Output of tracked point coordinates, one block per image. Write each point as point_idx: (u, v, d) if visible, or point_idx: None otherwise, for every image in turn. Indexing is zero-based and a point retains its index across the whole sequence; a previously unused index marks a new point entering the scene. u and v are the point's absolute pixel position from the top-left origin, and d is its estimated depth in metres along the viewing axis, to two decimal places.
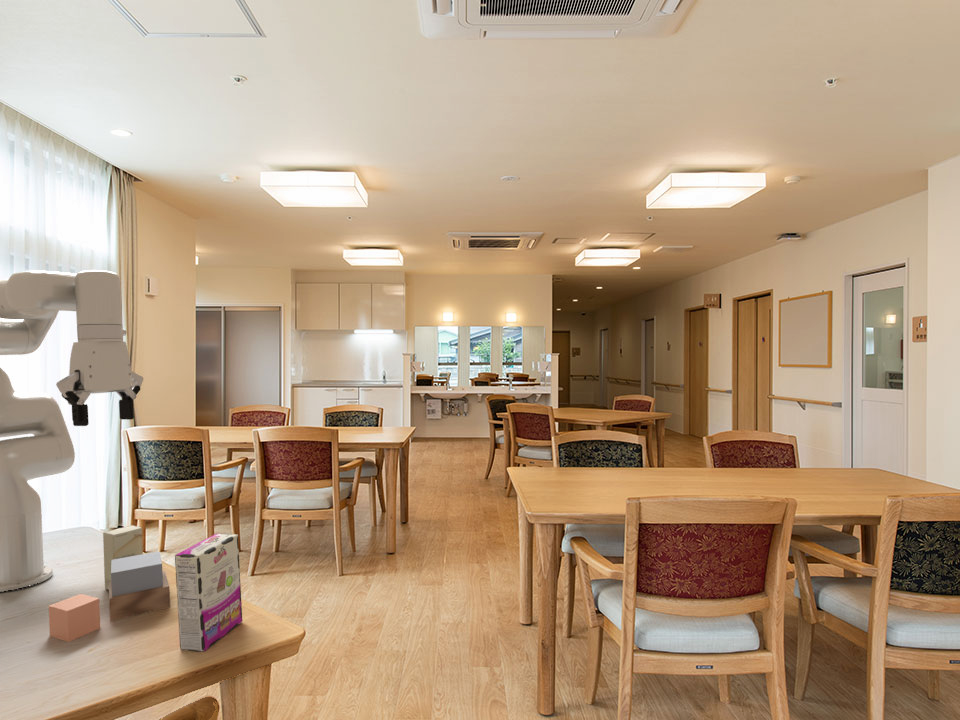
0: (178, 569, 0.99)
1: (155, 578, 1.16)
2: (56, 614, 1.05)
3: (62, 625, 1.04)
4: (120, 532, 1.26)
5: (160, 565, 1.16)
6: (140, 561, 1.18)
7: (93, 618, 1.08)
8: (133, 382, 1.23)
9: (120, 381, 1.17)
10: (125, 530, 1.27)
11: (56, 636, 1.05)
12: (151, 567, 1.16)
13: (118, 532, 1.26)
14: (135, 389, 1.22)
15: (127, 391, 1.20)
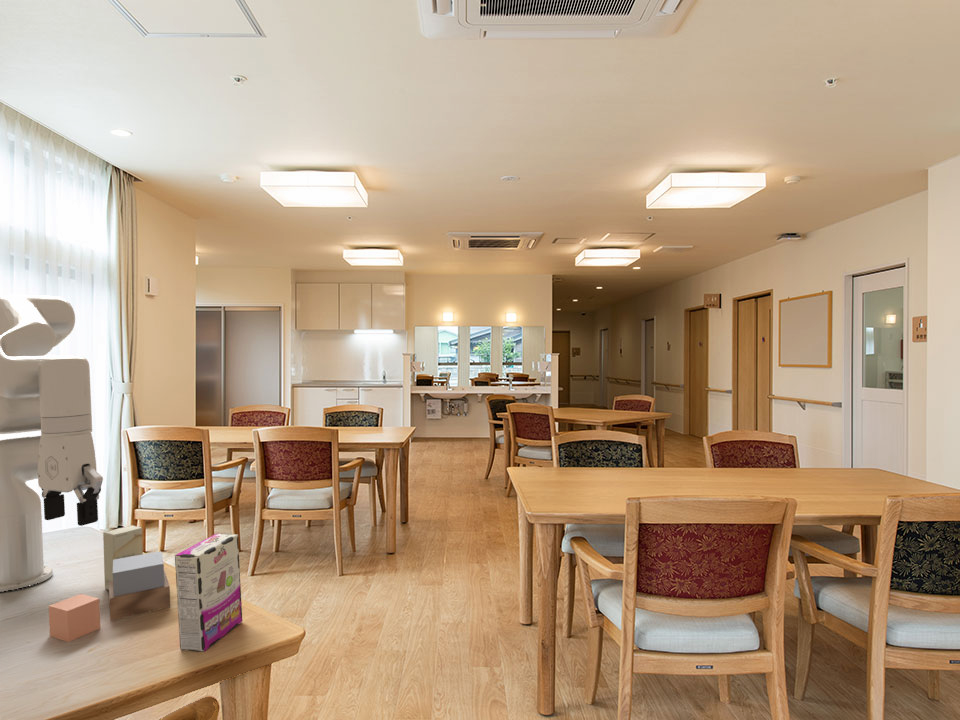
0: (178, 569, 0.99)
1: (156, 578, 1.16)
2: (56, 614, 1.05)
3: (62, 625, 1.04)
4: (120, 532, 1.26)
5: (162, 565, 1.16)
6: (142, 561, 1.18)
7: (93, 618, 1.08)
8: None
9: None
10: (125, 530, 1.27)
11: (56, 636, 1.05)
12: (152, 567, 1.16)
13: (118, 532, 1.26)
14: None
15: None
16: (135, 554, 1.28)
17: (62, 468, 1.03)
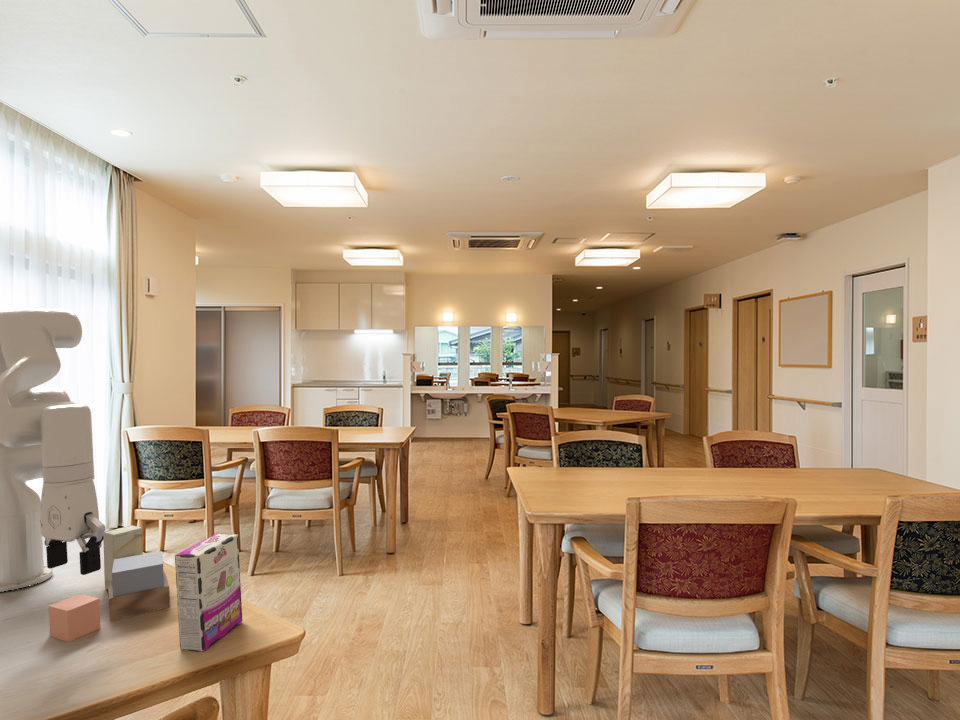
0: (179, 569, 0.99)
1: (156, 579, 1.16)
2: (56, 614, 1.05)
3: (62, 625, 1.04)
4: (120, 532, 1.26)
5: (161, 565, 1.16)
6: (142, 561, 1.18)
7: (93, 618, 1.08)
8: None
9: None
10: (125, 530, 1.27)
11: (56, 636, 1.05)
12: (152, 567, 1.15)
13: (118, 532, 1.26)
14: None
15: None
16: (135, 554, 1.28)
17: (64, 517, 1.03)
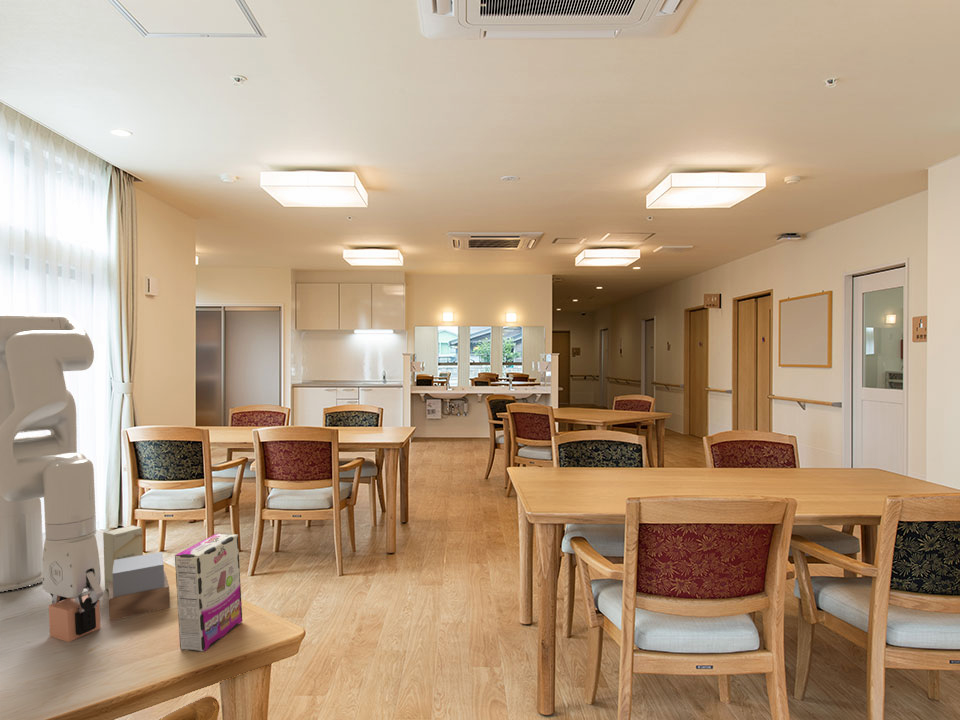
0: (178, 569, 0.99)
1: (156, 579, 1.16)
2: (56, 614, 1.05)
3: (62, 625, 1.04)
4: (120, 532, 1.26)
5: (161, 566, 1.16)
6: (142, 562, 1.18)
7: None
8: None
9: None
10: (125, 530, 1.27)
11: (56, 636, 1.05)
12: (152, 568, 1.15)
13: (118, 532, 1.26)
14: None
15: None
16: (135, 554, 1.28)
17: (66, 575, 1.03)
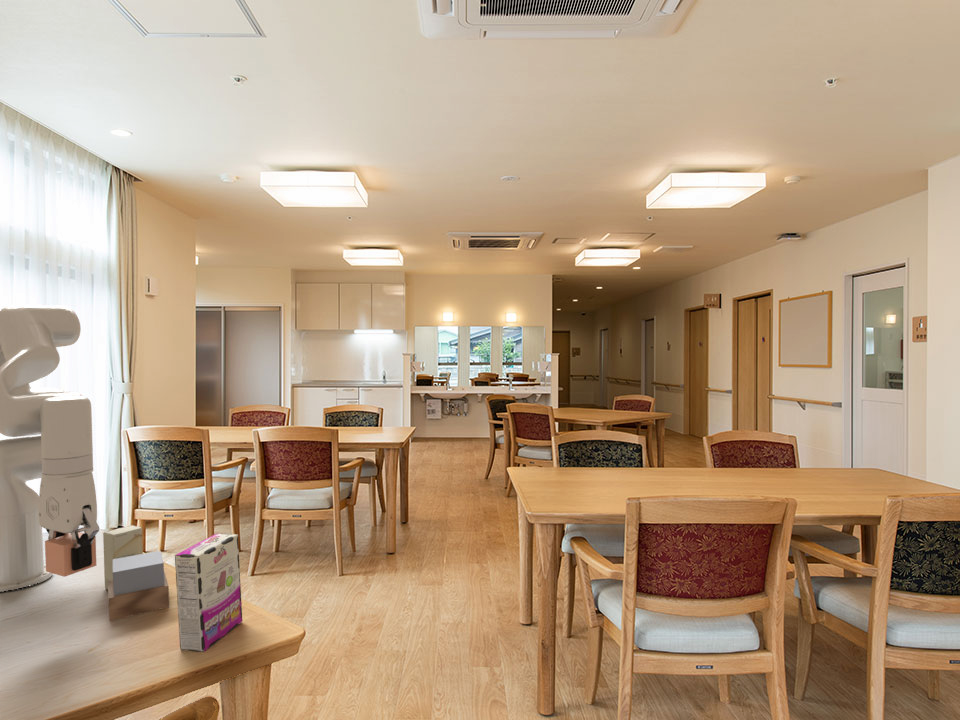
0: (178, 569, 0.99)
1: (156, 578, 1.16)
2: (52, 549, 1.05)
3: (58, 560, 1.04)
4: (120, 532, 1.26)
5: (161, 564, 1.17)
6: (142, 561, 1.18)
7: None
8: None
9: None
10: (125, 530, 1.27)
11: (52, 571, 1.05)
12: (152, 566, 1.16)
13: (118, 532, 1.26)
14: None
15: None
16: (135, 554, 1.28)
17: (63, 509, 1.03)
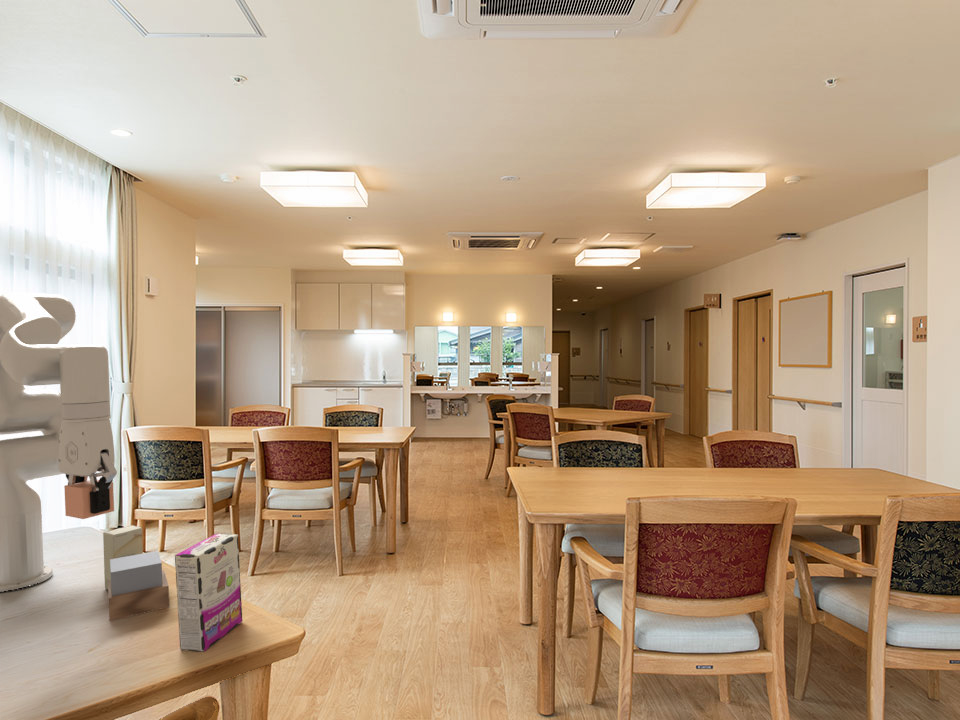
0: (178, 569, 0.99)
1: (154, 578, 1.16)
2: (71, 493, 1.08)
3: (77, 503, 1.07)
4: (120, 532, 1.26)
5: (160, 564, 1.17)
6: (140, 561, 1.18)
7: None
8: None
9: None
10: (125, 530, 1.27)
11: (71, 514, 1.08)
12: (150, 566, 1.16)
13: (118, 532, 1.26)
14: None
15: None
16: (135, 554, 1.28)
17: (81, 453, 1.06)
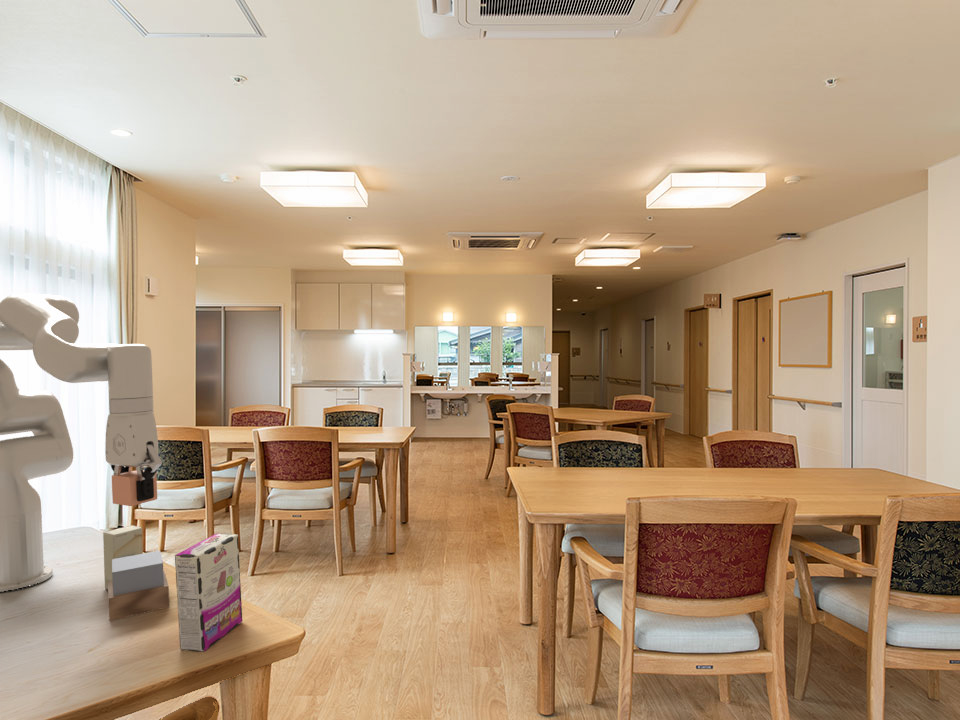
0: (179, 569, 0.99)
1: (156, 578, 1.16)
2: (119, 482, 1.15)
3: (124, 491, 1.15)
4: (120, 532, 1.26)
5: (161, 564, 1.17)
6: (141, 561, 1.18)
7: None
8: None
9: None
10: (125, 530, 1.27)
11: (119, 502, 1.16)
12: (152, 566, 1.16)
13: (118, 532, 1.26)
14: None
15: None
16: (135, 554, 1.28)
17: (129, 445, 1.14)
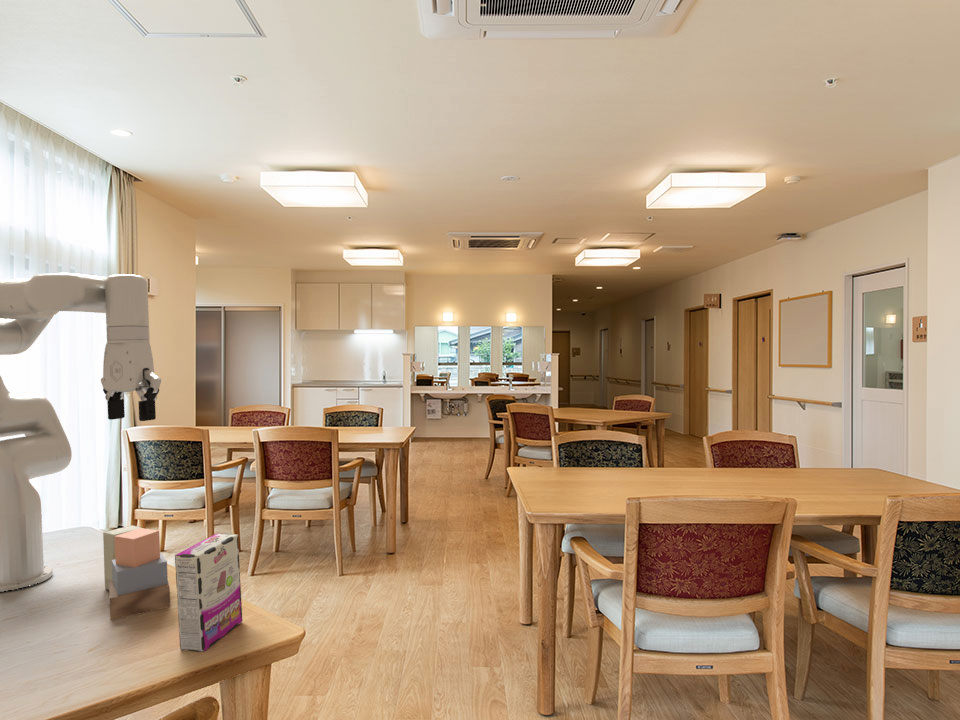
0: (179, 569, 0.99)
1: (160, 576, 1.17)
2: (122, 543, 1.16)
3: (128, 553, 1.16)
4: (120, 532, 1.26)
5: (165, 563, 1.18)
6: None
7: (154, 547, 1.19)
8: None
9: None
10: (125, 530, 1.27)
11: (122, 563, 1.16)
12: (156, 565, 1.17)
13: (118, 532, 1.26)
14: None
15: None
16: None
17: (126, 370, 1.18)
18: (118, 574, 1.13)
